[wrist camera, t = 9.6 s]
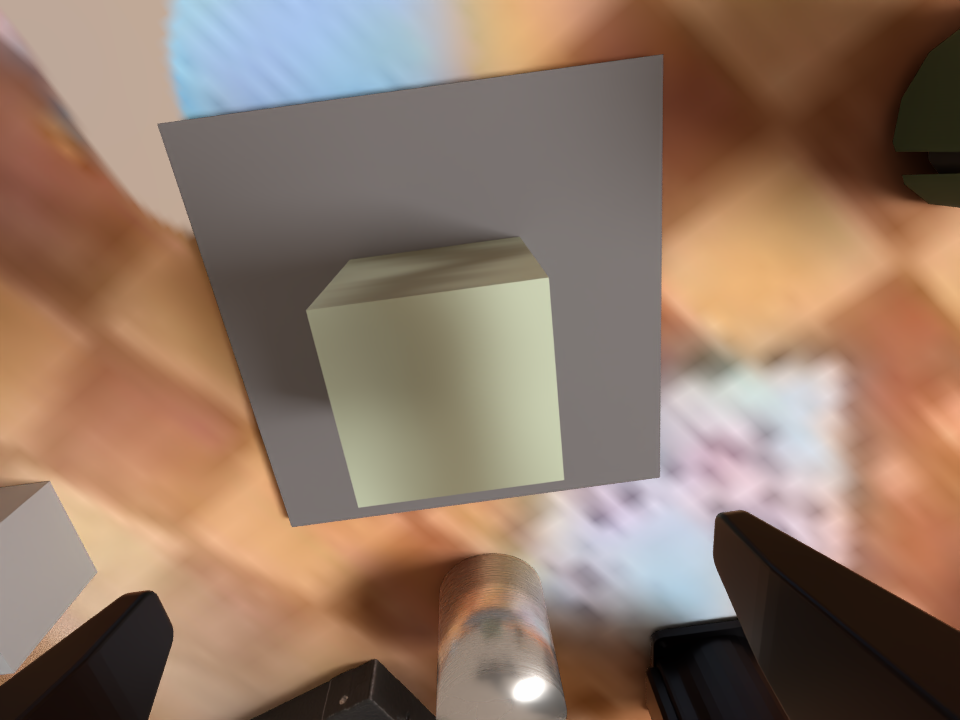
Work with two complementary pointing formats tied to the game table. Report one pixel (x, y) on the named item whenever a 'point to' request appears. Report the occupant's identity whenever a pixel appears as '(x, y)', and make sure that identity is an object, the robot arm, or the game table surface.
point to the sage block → (441, 371)
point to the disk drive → (354, 699)
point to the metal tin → (496, 644)
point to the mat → (440, 223)
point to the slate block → (36, 568)
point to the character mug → (934, 124)
